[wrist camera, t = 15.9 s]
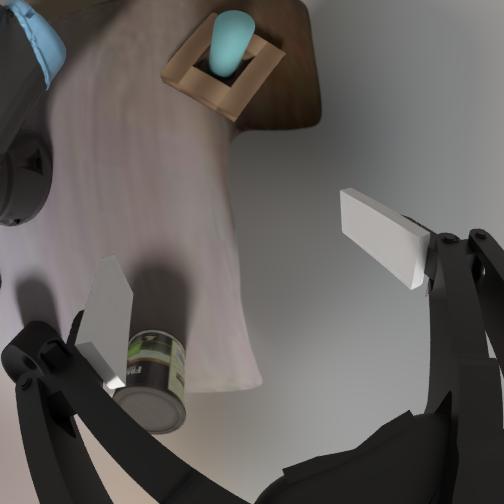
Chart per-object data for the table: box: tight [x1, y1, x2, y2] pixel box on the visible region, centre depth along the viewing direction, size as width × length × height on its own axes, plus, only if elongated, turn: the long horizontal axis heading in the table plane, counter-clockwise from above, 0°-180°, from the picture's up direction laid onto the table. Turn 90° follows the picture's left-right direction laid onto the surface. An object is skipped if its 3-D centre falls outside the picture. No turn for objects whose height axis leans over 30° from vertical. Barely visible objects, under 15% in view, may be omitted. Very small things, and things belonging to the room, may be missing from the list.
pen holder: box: [1, 321, 59, 383], centre depth 36 cm, size 9×9×10 cm
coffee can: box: [112, 330, 186, 435], centre depth 38 cm, size 10×10×14 cm
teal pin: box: [208, 10, 255, 81], centre depth 28 cm, size 4×4×14 cm
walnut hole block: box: [160, 12, 286, 123], centre depth 33 cm, size 12×12×4 cm
